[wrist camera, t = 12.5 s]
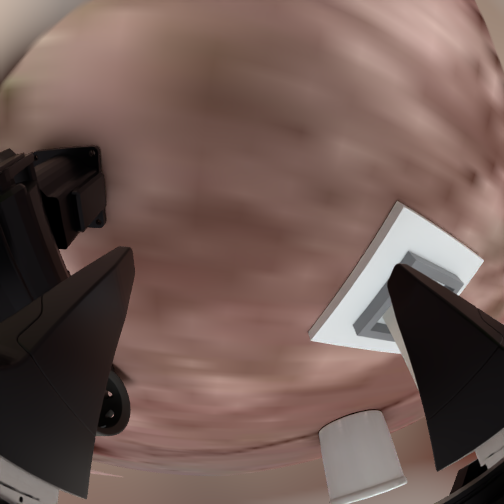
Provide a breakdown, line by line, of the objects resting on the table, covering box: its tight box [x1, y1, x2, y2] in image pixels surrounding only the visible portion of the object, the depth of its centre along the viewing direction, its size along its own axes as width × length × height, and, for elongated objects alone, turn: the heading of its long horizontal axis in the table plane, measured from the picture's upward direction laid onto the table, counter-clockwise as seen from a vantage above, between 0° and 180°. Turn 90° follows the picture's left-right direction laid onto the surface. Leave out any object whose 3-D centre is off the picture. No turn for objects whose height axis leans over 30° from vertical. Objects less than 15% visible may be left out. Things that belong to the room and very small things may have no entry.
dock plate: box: [308, 201, 484, 354], centre depth 26 cm, size 16×16×3 cm
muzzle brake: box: [96, 366, 130, 436], centre depth 28 cm, size 10×28×10 cm, turn 116°
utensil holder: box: [319, 410, 407, 504], centre depth 40 cm, size 15×15×18 cm
